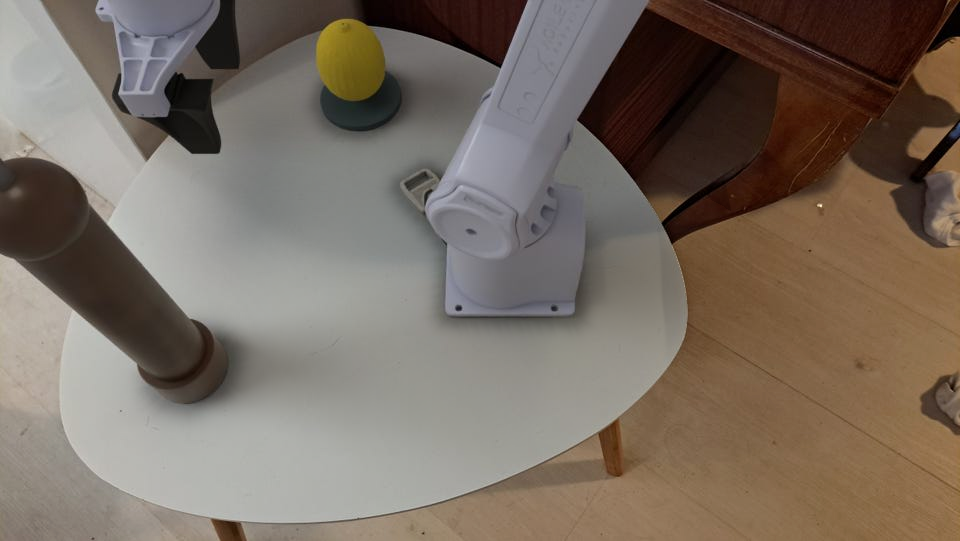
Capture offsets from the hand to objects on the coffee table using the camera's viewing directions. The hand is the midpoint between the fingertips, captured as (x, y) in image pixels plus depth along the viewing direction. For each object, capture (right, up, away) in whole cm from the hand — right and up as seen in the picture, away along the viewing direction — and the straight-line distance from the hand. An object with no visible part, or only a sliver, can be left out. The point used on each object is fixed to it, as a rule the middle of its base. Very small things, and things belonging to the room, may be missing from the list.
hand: (216, 106), depth 51 cm
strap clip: (+16, -7, +7) cm, 19 cm away
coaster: (+8, +3, +12) cm, 15 cm away
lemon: (+8, +4, +12) cm, 15 cm away
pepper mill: (-2, -19, +1) cm, 19 cm away
